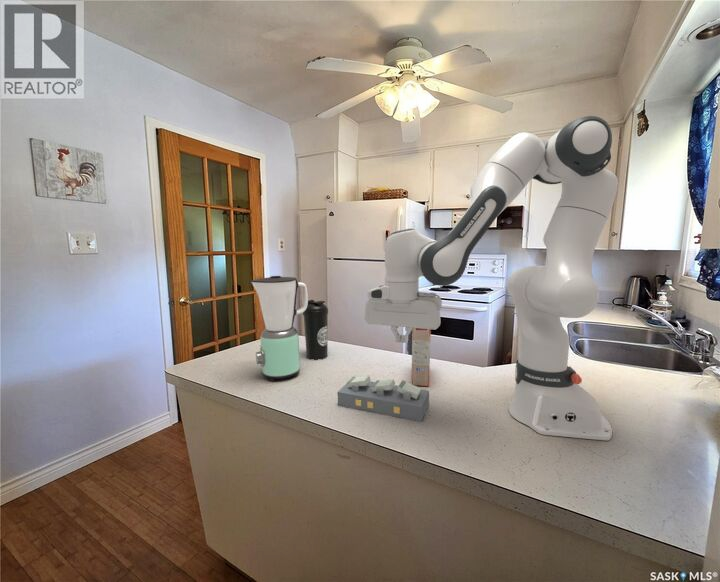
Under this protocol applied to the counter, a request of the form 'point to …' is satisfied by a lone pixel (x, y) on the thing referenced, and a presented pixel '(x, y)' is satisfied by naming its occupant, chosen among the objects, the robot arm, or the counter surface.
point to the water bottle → (316, 330)
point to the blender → (279, 326)
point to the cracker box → (420, 356)
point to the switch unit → (384, 401)
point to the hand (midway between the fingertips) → (401, 342)
